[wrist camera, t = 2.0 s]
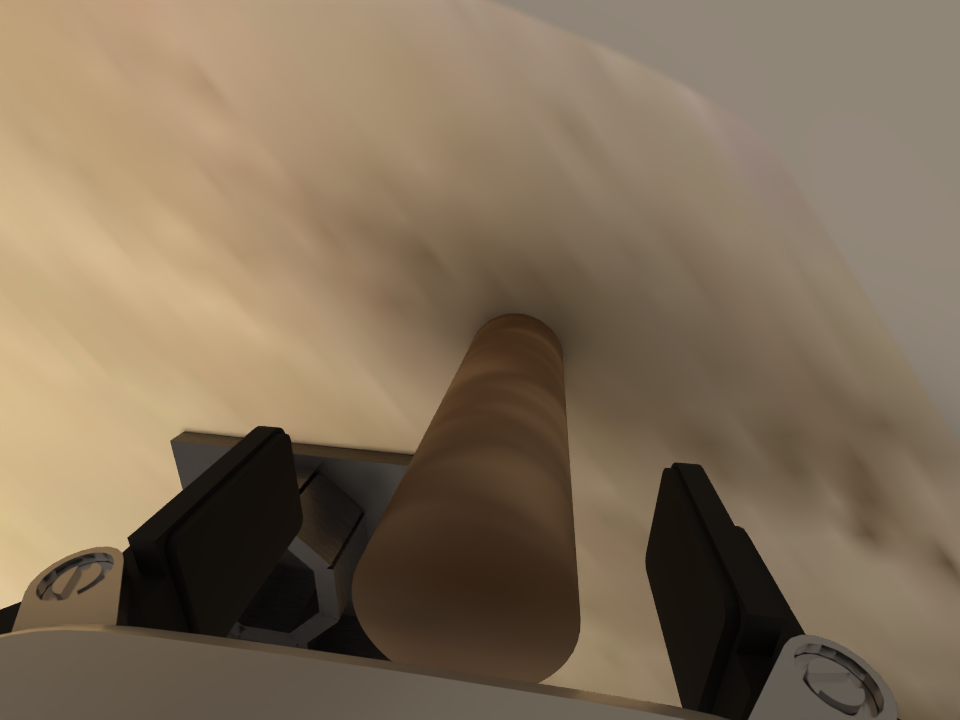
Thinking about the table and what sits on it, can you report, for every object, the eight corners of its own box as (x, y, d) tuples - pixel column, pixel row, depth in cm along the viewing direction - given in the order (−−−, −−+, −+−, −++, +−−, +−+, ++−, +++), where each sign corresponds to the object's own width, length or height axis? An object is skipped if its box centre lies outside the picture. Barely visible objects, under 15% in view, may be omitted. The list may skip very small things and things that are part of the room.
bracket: (423, 629, 29) (363, 835, 20) (224, 598, 31) (83, 774, 21) (417, 455, 24) (335, 619, 15) (183, 431, 26) (-19, 564, 17)
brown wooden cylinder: (566, 316, 20) (592, 536, 7) (558, 403, 22) (568, 709, 9) (470, 311, 21) (342, 505, 8) (469, 396, 23) (360, 674, 10)
